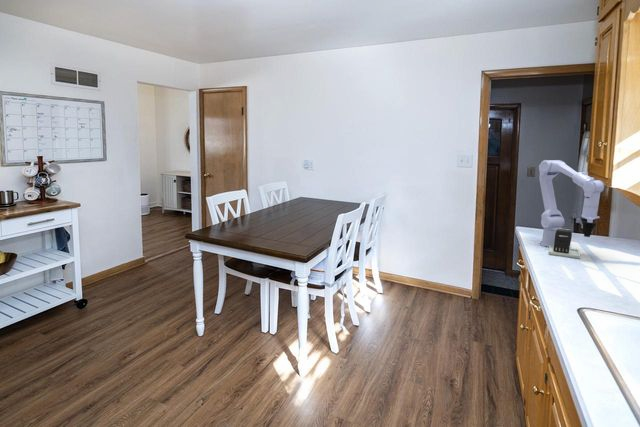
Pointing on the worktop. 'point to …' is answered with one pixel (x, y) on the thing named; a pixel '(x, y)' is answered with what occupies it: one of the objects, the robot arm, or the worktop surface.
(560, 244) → the battery charger
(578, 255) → the tray
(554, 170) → the robot arm
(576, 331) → the worktop surface
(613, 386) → the worktop surface
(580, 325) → the worktop surface
